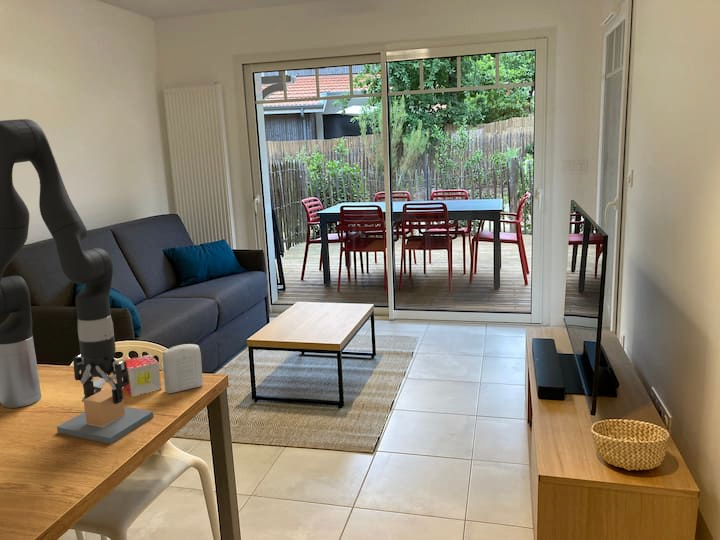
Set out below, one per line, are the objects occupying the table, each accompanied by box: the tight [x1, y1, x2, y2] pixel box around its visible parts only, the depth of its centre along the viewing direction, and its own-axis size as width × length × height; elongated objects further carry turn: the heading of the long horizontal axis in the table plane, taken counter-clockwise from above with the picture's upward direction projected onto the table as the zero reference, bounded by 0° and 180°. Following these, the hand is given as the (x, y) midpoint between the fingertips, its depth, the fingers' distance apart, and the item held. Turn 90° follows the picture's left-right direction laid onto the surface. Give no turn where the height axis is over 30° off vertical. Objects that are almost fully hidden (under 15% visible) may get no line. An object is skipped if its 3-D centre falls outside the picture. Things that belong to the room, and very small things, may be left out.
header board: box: [56, 405, 154, 445], centre depth 140 cm, size 16×14×4 cm
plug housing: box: [83, 387, 125, 427], centre depth 140 cm, size 5×7×6 cm
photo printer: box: [162, 343, 204, 394], centre depth 160 cm, size 10×4×12 cm, turn 123°
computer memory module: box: [81, 377, 106, 401], centre depth 161 cm, size 15×1×4 cm
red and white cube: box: [123, 354, 162, 398], centre depth 160 cm, size 8×8×8 cm
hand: (103, 399), depth 140 cm, fingers open, 8 cm apart
